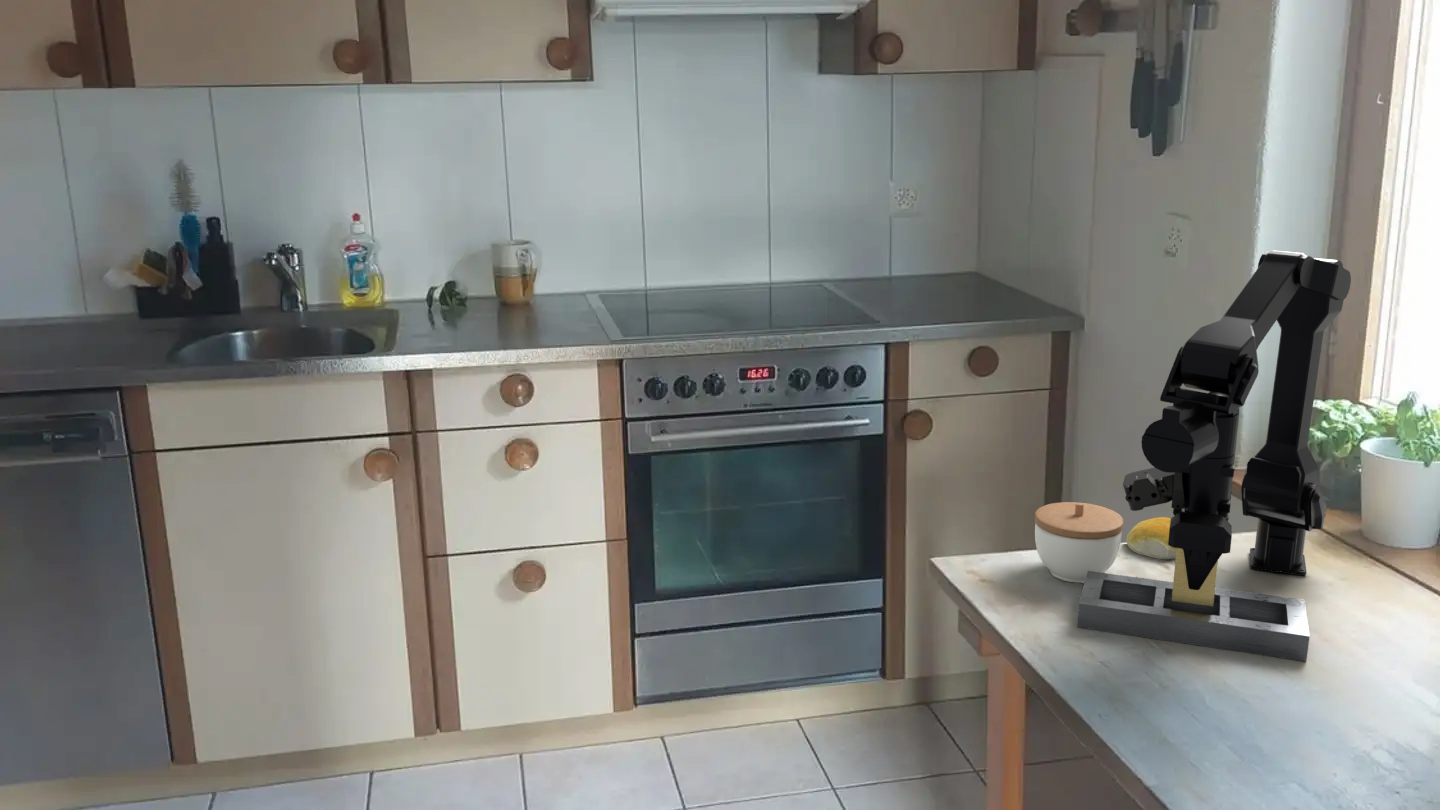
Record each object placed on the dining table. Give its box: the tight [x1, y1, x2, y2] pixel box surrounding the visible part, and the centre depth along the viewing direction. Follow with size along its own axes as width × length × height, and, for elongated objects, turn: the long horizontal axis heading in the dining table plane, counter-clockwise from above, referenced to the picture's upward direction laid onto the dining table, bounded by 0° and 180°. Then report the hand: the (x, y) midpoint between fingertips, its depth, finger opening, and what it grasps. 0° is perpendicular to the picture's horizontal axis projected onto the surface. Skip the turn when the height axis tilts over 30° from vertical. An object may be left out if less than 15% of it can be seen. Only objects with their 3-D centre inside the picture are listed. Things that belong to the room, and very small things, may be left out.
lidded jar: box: [1034, 501, 1124, 584], centre depth 156 cm, size 11×11×9 cm
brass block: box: [1172, 548, 1219, 606], centre depth 141 cm, size 4×4×6 cm
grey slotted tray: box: [1076, 571, 1310, 662], centre depth 142 cm, size 10×24×3 cm, turn 68°
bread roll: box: [1126, 516, 1177, 560], centre depth 165 cm, size 8×9×4 cm
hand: (1194, 581), depth 141 cm, fingers closed on brass block, 4 cm apart
